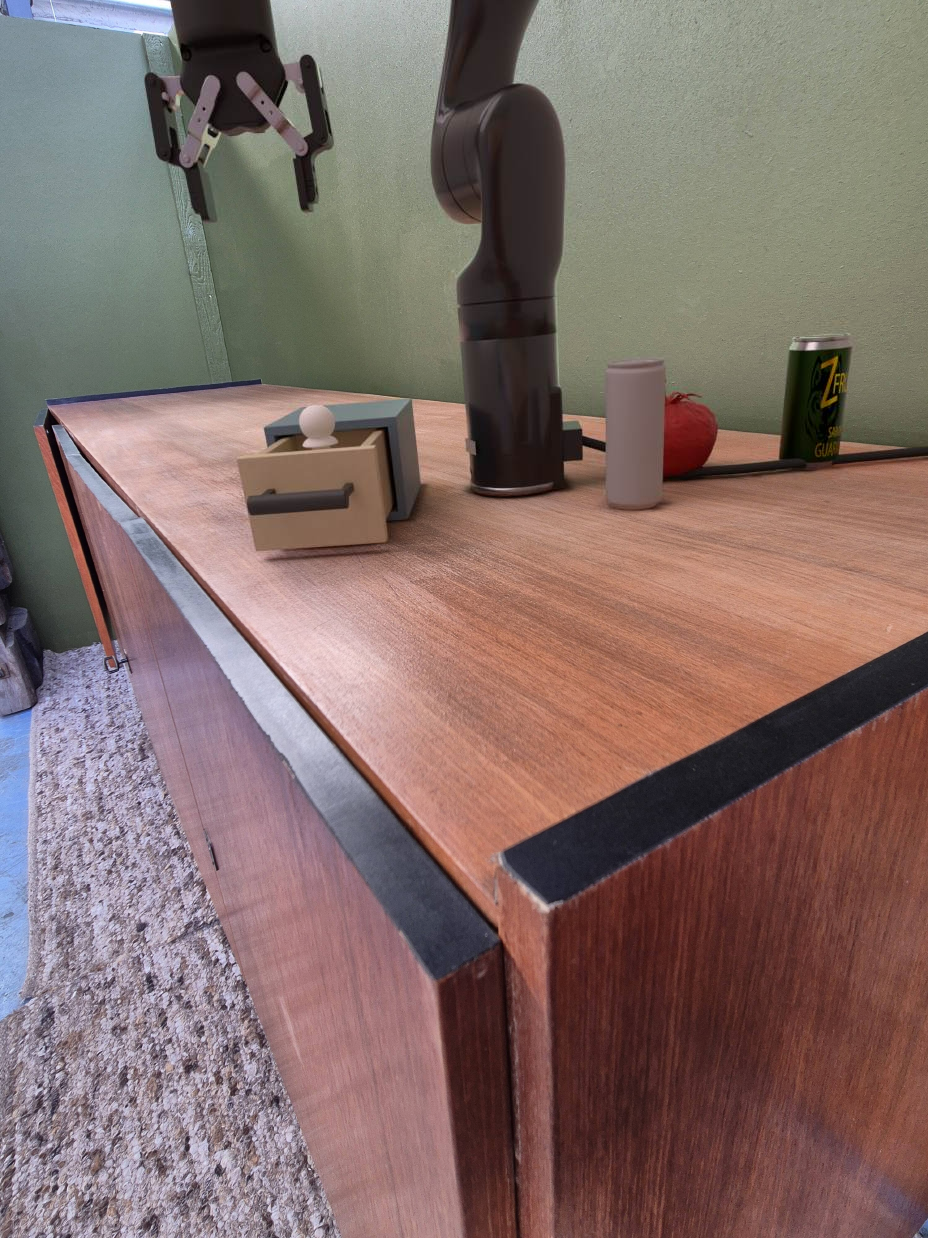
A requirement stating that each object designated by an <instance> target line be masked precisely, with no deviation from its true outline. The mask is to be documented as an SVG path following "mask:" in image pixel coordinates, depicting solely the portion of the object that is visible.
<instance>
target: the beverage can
mask: <svg viewBox="0 0 928 1238" xmlns="http://www.w3.org/2000/svg"><path fill="white" fill-rule="evenodd" d="M664 363H665V358H664V357H636V358H624V359H615V360H610V361H608V362H607V363H606V365H607V368H606V370H605V375H604V376H605V442H606V453H605V499H606V502H607V503H608V504H609V505H610V506H611V507H613V508H615V509H620V510H629V511H637V510H647V509H650V508H654V507H655V506H657V505H658V504H659V503H660V501H661V500H662V498H663V483H664V482H663V481H664V480H663V447H664V412H665V389H666V383H665V379H666V376H667V373H666V372H667V369H666V366H665V364H664Z"/></svg>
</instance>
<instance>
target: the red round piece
mask: <svg viewBox="0 0 928 1238" xmlns="http://www.w3.org/2000/svg"><path fill="white" fill-rule="evenodd" d="M666 383H667V379H666V378H665V384H666ZM666 392H667V390H666V388H665V412H664V447H663V478H667V477H673V476H677V475H680V474H684V473H687V472H689V471H691V470H693V469H696V468H699V467H705V464H706V463H707V462H708V460H709V458H710V456H711V454H712V452H713V450H714V447H715V444H716V442H717V437H718V433H719V424H718V422H717V420H716V415H715V414H714V412H713V411H712V410H711V409H710V408H709V407H708V406H707V405H704V404H702V403H700V402H697V401H695V400H692V399H691V398H690V397H697V398H700V399H702V398H703V396H700V395H698V394H696V393H693V392H692V393H691V392H690V393H689V392H688V393H683V392H680V391H674V392H672V393H670V394H669V395H668V396H667V393H666ZM684 399H685V400H684Z"/></svg>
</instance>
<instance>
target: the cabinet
mask: <svg viewBox="0 0 928 1238" xmlns="http://www.w3.org/2000/svg"><path fill="white" fill-rule="evenodd" d="M323 406H324V407H326V408H328V409H329V410H330V411H331V413H332V414H333V416H334V419H335V428H334V431H341V430H353V429H366V428H378V427H387V431H388V439H389V447H390V455H391V464H392V472H393V480H394V488H395V496H396V500H395V502H394V504H393V506H392V508H391V510H390V512H389V515H388V517H387V519H386V522H392V521H393V522H394V521H402V520H403V521H406V520H409V517H410V515H411V513H412V509H413V506H414V504H415V502H416V499H417V496H418V493H419V492H420V489H421V486H422V481H421V473H420V472H421V471H420V463H419V462H420V461H419V454H418V444H417V435H416V426H415V425H416V424H415V417H414V416H415V415H414V406H413V398H411V397H410V398H408V397H407V398H398V399H397V398H395V399H385V400H373V401H362V402H347V403H336V404H326V405H324V404H323ZM307 407H308V406H301V407H299V408H298V409H295V410H294V411H292V412H290V413H288V414H286V415H284V416H283V417H280V418H279V419H276V420H275V421H272V422H271V423H269V424H267V425H266V426H264V427H263V432H264V436H265V437H264V438H265V442H266V448H267V447H269V446H271V445H272V444H274V443H275V442H277V441H279V440H280V439H282V438H283V437H285V436H287V435H291V434H303V432H302V431H301V428H300V425H299V418H300V415H301V413H302V411H303V410H304V409H305V408H307Z"/></svg>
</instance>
